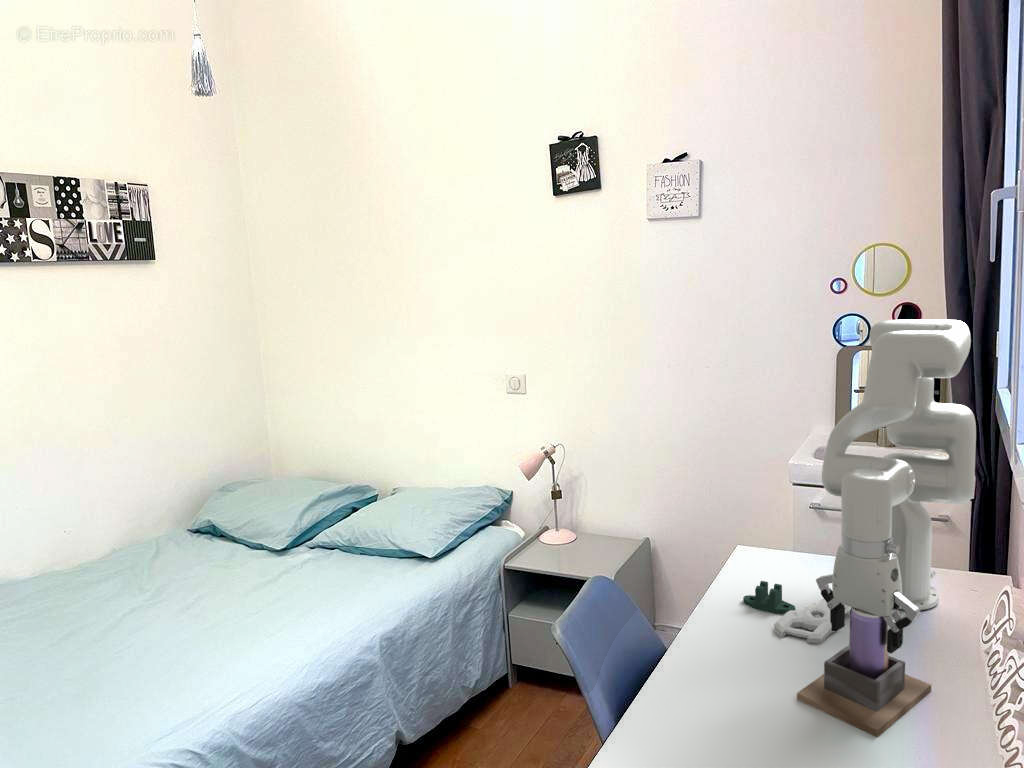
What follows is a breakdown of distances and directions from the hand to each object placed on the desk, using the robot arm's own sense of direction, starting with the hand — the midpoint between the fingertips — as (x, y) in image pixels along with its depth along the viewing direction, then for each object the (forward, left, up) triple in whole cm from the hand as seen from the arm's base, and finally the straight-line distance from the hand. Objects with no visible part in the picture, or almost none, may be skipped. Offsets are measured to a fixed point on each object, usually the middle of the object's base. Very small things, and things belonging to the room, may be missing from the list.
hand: (865, 638), depth 130 cm
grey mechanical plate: (-16, -19, -11) cm, 27 cm away
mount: (-15, -29, -11) cm, 35 cm away
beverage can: (0, +1, -9) cm, 9 cm away
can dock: (0, 0, -10) cm, 10 cm away
